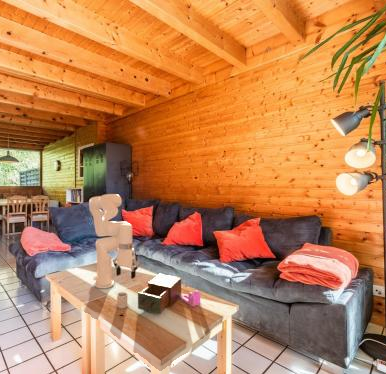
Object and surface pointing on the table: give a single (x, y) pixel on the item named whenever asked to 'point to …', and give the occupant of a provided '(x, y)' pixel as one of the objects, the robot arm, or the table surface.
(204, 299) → the table surface
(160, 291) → the drawer
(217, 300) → the table surface
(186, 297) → the bracket
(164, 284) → the cabinet
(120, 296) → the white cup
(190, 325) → the table surface
